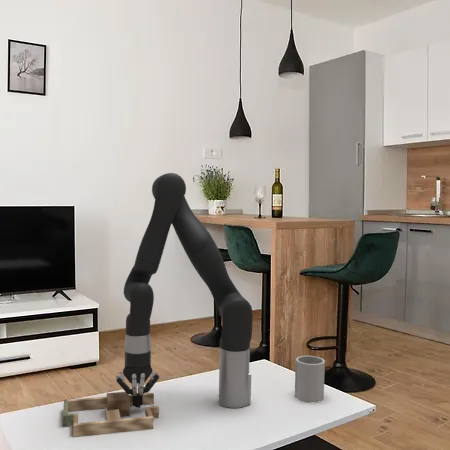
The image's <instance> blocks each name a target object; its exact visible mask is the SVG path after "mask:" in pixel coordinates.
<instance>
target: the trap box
mask: <svg viewBox="0 0 450 450" xmlns="http://www.w3.org/2000/svg"><path fill="white" fill-rule="evenodd" d="M128 395H129V399H130V407H131V406H132V407H134V406H133V403H132V395H131V394H128ZM154 404H155V394H154V392H148V393H144V394H143V404H142V406H143V405H144V407H145V408H144V409H145V410H144V411H145V412H144V413H145V416H141V417H139V416H138V417H129V418H122V417H120V413H119V409H116V410H107V396H98V397H97V396H96V397H87V398H86V397H85V398H73V399H64V400H63V407H62V408H63V412H62V427H63V428H66V427H73V435H72V437H74V438H75V437H77V438H78V437H84V436H95V435H104V434H106V435H107V434H113V433H125V432H134V431H136V432H137V431H145V430H152V429H154V420H155V419H157V418H158V419H159V418H160V406H159V405H154ZM145 405H152V406H145ZM99 409H106V410H105V420H99V421H86V422H79V412H77V411H86V410H89V411H90V410H99ZM69 412H71V413H69ZM72 412H76V413H72Z"/></svg>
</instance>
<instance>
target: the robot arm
mask: <svg viewBox="0 0 450 450" xmlns="http://www.w3.org/2000/svg"><path fill="white" fill-rule="evenodd" d="M186 192H187V186H186V183H185V180H184V179H183V177H182V176H180V174H178V173H175V172H174V173H173V172H168V173H167V172H166V173H164V174H161V175H160V176H158V177H157V178H156V179H155V180H154V181H153V183H152V187H151V194H152V196H153V198H154V203H153V204H154V205H153V209H152V212H151V213H152V214H151V217H150V219H149V222H148V225H147V228H146V229H145V232H144V234H143V236H142V239H141V241H140V244H139V246H138V250H137V253H136V257H135V260H134V264H133V266H132V268H131V270H130V272H129V274H128V276H127V278H126V281H125V282H124V283H125V284H124V286H123V296H124V298H125V299H126V301H127V302H129V313H128V314H127V316H126V319H125V337H124V368H123V369H122V373H120V374H119V375H117V376H115V380H116V383H117V384H118V385H119V386H120V387H121V388H122V390H123V392H126V393H127V394H128V395H132V403H133V406H132V407H134V408H135V409H139V408H140V409H141V407H142V406H143V405H142V404H143V394H144V393H150V391H151V390H152V388H153V387H154V386H155V384H156V383H157V381H159V379H160V375H159V372H158V373H157V372H155V371H153V367H152V362H151V361H152V360H151V359H152V339H151V316H152V312H153V306H154V300H155V296H154V295H155V294H154V289H153V287H152V286H151V285H150V284H149V283H150V281H151V278H152V276H153V275H155V274H156V273H157V272H158V269H159V267H160V265H161V261H162V257H163V253H164V249H165V247H166V244H167V243H166V242H167V239H168V235H169V232H170V229H171V227H172V228H173V229H174V231H175V233H176V236H177V238H178V240H179V242H180V244H181V246H182V248H183V251H184V252H185V254H186V256H187V257H188V260H189V261H190V263H191V265H192V267H193V269H194V270H195V271H196V272H197V274H198V275H199V277H200V278H201V279H202V281H203V282H204V283H205V285H206V287H207V288H208V290H209V291H210V294H211V295H212V298H213V300H214V303H215V305H216V307H217V310H218V313H219V315H220V317H221V318H222V325H221V326H222V327H221V328H222V329H221V337H220V338H219V339H220V340H219V362H218V364H219V366H218V367H219V370H218V371H219V373H218V404H219V405H220V406H222V407H225V408H229V409H230V408H231V409H238V408H244V407H246V406H249V405H250V406H251V401H252V400H251V397H252V373H251V372H250V356H251V355H250V354H251V353H250V351H251V350H250V349H251V341H252V337H253V318H254V317H253V316H254V314H253V312H254V311H253V308H252V305H251V303H250V302H249V301H248V300H247V299H246V298H245V297H244V296H243V295H242V294H241V293H240V291H239V289H237V287H236V286H235V284H234V282H233V281H232V279H231V278H230V276H229V273H228V270H227V268H226V263H225V261H224V259H223V256H222V253H221V251H220V248H219V247H218V246H217V244H216V242H215V240H214V238H213V235H212V234H211V233H210V232H209V230H208V229H207V227H205V225H204V224H203V223H202V222H201V221H200V220H199V219H198V217H197V216H196V215H195V213H194V212H193V210H192V209H191V207H190V204H189V203H188V201H187V199H186V197H185V195H186ZM125 378H126V379H127V381H128V382H129V384H131V388H130V387H129V386H128V384H127V383H126V379H125ZM149 378H150V379H149ZM148 379H149V380H148ZM145 382H147V383H146V384H145ZM137 385H138V386H137Z"/></svg>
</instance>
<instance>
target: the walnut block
mask: <svg viewBox="0 0 450 450" xmlns="http://www.w3.org/2000/svg"><path fill="white" fill-rule="evenodd" d="M129 395H130V394H127V393H126V392H125V391H119V392H117V391H116V392H108V393H106V397H107V408H106V410H116V409H119V413H120V418H126V417H130V410H131V409H130V407H131V406H130V399H129Z"/></svg>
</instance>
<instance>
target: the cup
mask: <svg viewBox="0 0 450 450" xmlns="http://www.w3.org/2000/svg"><path fill="white" fill-rule="evenodd" d="M325 367H326V360H325V359H324V358H323V357H319V356H314V355H300V356H297V357H296V358H295V368H294V369H295V371H294V372H295V373H294V375H295V378H294V398H295V399H296V398H297V399H296V400H298V401H300V402H303V401H304V403H310V402H315V403H319V401H320V402H323V400H324V399H325V397H324V394H325V372H326V371H325Z"/></svg>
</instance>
